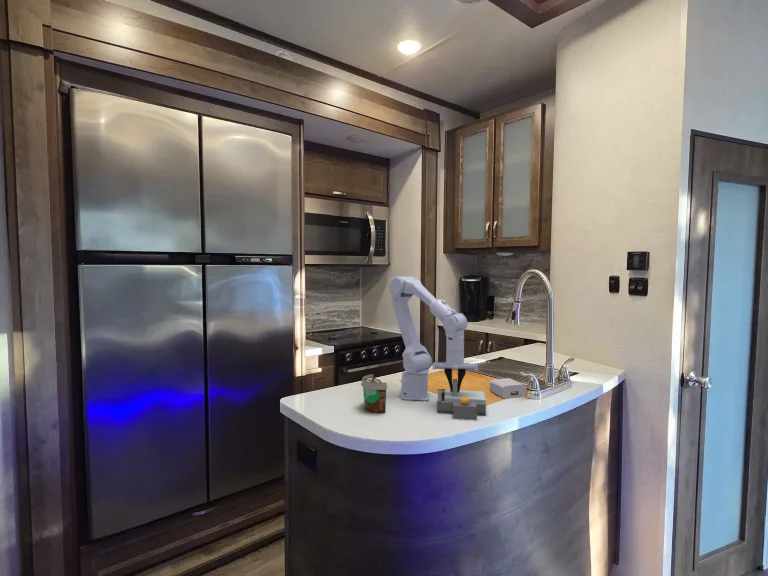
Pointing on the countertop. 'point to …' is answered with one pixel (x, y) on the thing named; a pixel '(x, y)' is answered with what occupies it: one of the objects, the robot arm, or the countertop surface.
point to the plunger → (464, 400)
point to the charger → (507, 388)
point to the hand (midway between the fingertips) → (454, 391)
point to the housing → (460, 408)
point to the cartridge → (473, 395)
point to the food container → (374, 394)
